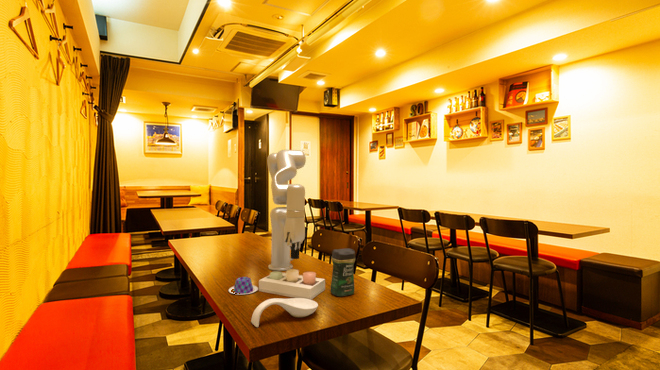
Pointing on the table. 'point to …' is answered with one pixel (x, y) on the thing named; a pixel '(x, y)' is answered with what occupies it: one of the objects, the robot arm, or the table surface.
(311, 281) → the pink round cup
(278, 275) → the sage button
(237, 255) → the table surface
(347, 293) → the coffee jar
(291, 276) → the cream button
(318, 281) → the white compartment tray
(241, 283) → the pudding
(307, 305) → the spoon rest
